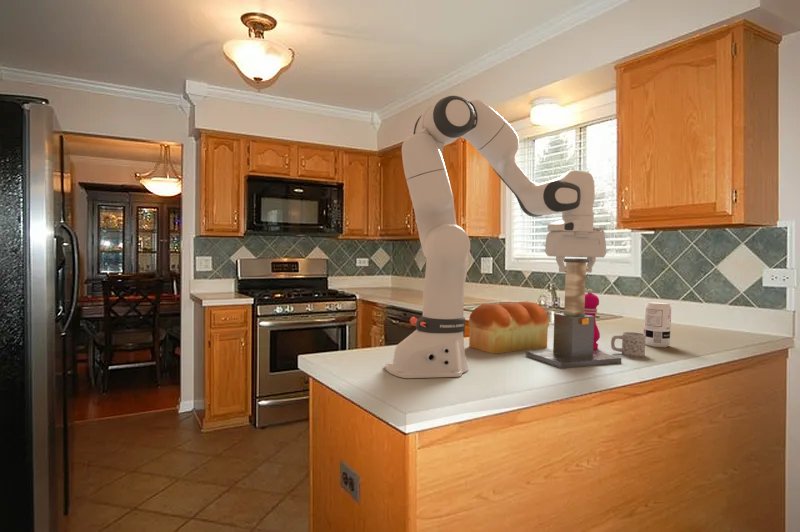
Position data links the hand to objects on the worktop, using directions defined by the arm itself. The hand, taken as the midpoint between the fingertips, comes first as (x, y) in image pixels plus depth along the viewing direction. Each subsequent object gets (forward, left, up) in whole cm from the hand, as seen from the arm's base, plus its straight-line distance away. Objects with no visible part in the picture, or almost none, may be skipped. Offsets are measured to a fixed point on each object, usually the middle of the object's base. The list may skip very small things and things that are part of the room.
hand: (575, 272), depth 147 cm
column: (0, 0, -17) cm, 17 cm away
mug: (+23, +1, -27) cm, 35 cm away
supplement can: (+45, +9, -27) cm, 53 cm away
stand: (0, 0, -26) cm, 26 cm away
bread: (-8, +22, -27) cm, 35 cm away
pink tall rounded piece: (+17, +12, -26) cm, 34 cm away
